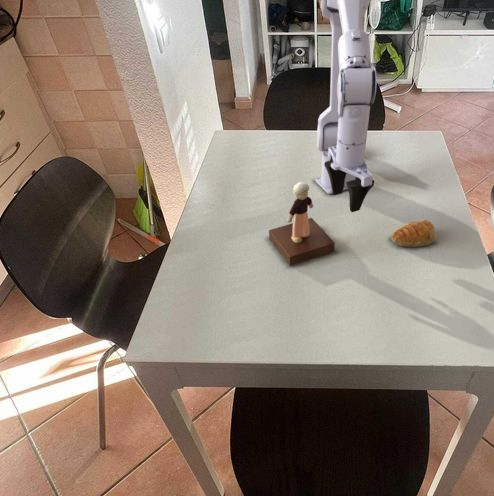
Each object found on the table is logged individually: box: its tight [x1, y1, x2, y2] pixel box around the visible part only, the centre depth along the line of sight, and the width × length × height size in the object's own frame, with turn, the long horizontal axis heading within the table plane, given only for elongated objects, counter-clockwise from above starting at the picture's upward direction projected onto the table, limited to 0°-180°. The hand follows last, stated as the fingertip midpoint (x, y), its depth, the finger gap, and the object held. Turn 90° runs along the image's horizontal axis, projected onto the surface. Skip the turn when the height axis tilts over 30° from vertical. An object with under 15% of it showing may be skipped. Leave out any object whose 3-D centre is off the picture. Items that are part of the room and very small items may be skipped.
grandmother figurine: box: [286, 181, 314, 243], centre depth 90 cm, size 8×4×13 cm, turn 149°
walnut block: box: [268, 217, 336, 267], centre depth 96 cm, size 11×11×2 cm
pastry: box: [391, 219, 437, 248], centre depth 96 cm, size 9×7×4 cm
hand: (346, 201), depth 94 cm, fingers open, 7 cm apart
